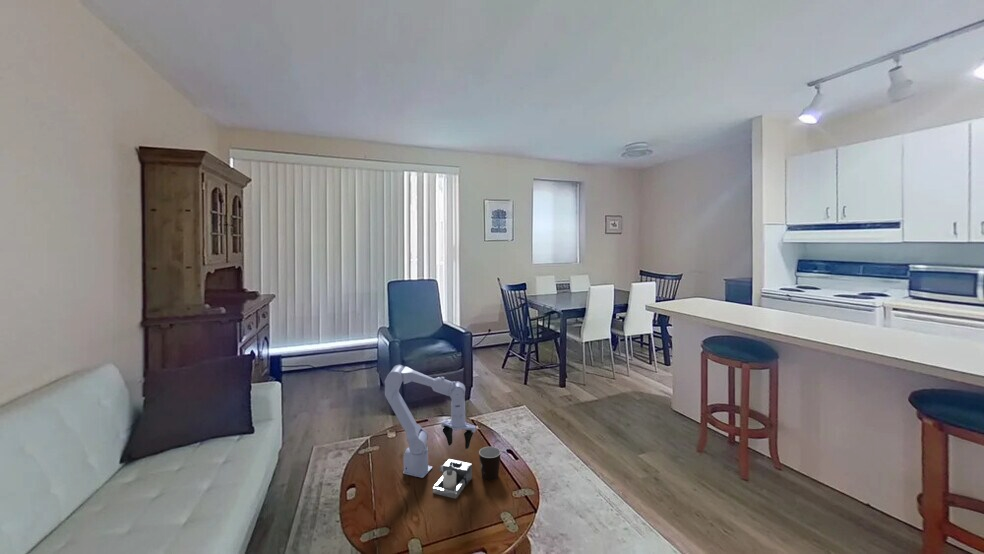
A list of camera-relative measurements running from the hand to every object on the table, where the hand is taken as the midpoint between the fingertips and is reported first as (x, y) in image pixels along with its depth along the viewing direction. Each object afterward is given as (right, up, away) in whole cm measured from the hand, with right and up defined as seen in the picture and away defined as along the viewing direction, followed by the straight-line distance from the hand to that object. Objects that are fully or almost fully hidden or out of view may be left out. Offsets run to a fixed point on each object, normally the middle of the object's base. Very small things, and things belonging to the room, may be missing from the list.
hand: (458, 446), depth 158 cm
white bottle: (-2, -11, -11) cm, 16 cm away
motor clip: (-3, -11, -9) cm, 14 cm away
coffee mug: (+13, -11, -2) cm, 17 cm away
